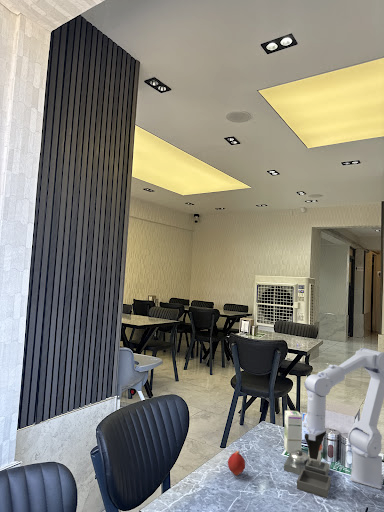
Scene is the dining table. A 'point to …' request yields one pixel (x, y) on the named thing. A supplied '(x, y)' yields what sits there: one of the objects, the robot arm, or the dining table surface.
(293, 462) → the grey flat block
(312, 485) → the tray
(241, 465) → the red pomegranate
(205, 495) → the dining table surface
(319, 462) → the pin
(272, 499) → the dining table surface
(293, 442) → the syrup box
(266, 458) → the dining table surface
